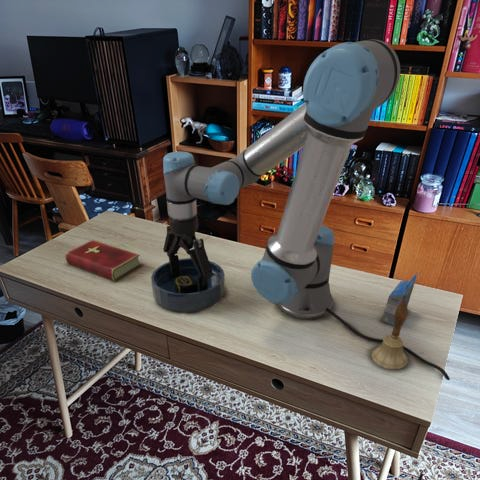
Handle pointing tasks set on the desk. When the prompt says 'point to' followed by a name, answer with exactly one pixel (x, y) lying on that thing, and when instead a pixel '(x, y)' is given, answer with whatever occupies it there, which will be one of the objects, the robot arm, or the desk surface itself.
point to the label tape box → (398, 298)
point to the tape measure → (186, 284)
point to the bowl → (187, 301)
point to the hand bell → (393, 344)
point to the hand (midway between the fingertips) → (188, 285)
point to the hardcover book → (103, 259)
